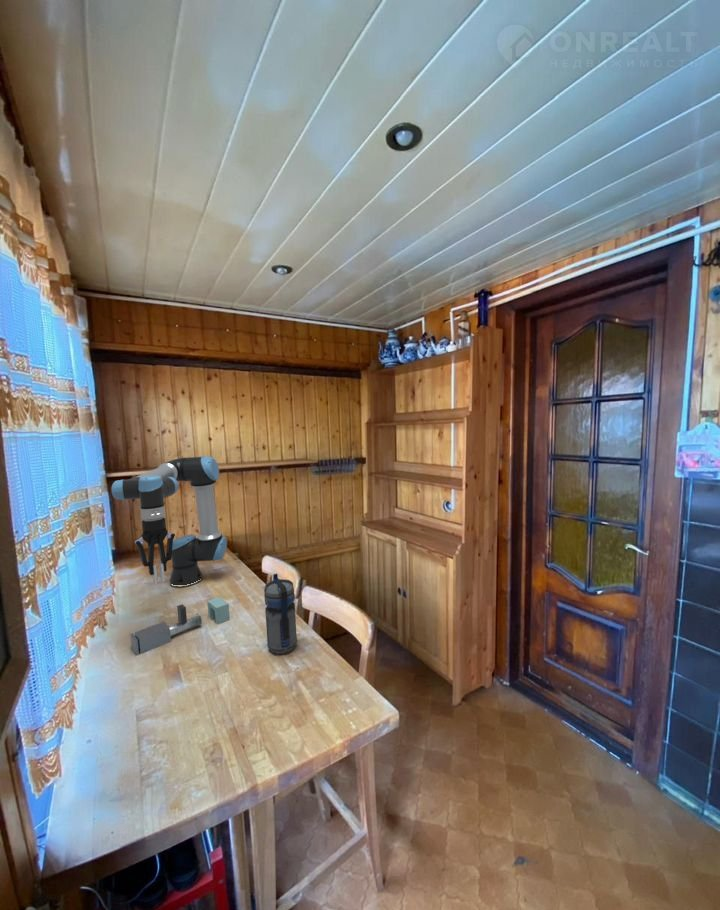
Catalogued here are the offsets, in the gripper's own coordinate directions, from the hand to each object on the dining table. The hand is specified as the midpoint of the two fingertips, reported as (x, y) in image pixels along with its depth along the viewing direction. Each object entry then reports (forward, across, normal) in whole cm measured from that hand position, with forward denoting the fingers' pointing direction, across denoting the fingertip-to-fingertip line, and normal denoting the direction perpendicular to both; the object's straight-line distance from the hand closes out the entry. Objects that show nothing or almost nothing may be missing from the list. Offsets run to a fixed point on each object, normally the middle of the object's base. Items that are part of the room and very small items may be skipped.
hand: (158, 581), depth 137 cm
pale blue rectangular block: (+22, +21, 0) cm, 31 cm away
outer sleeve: (+22, -4, 0) cm, 23 cm away
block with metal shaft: (+22, +2, 0) cm, 23 cm away
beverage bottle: (+23, +28, -38) cm, 52 cm away
